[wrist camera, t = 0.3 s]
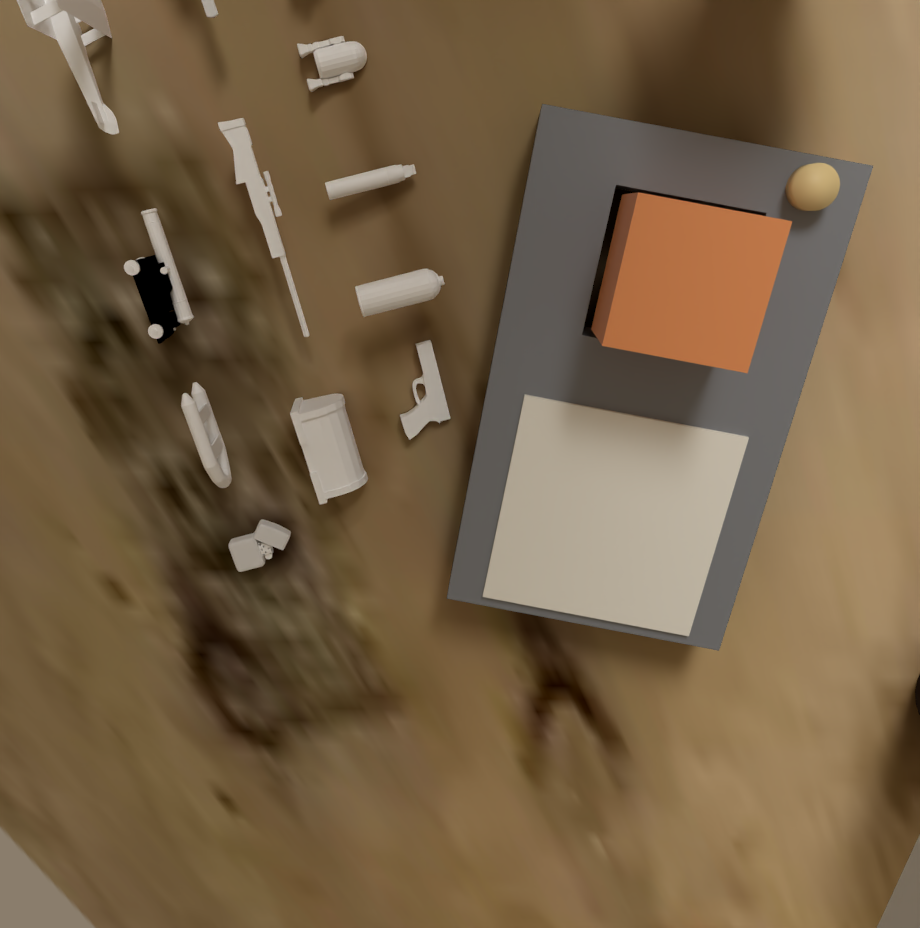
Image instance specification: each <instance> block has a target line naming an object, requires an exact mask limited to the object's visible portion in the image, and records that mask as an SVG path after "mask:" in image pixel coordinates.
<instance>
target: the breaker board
mask: <svg viewBox="0 0 920 928" xmlns="http://www.w3.org/2000/svg"><path fill="white" fill-rule="evenodd" d="M872 168H873V166H871V165H866V164H861V163H855V162H850V161H845V160H839V159H834V158H829V157H823V156H818V155H813V154H807V153H802V152H797V151H791V150H786V149H780V148H775V147H770V146H764V145H759V144H754V143H748V142H743V141H738V140H732V139H727V138H722V137H716V136H711V135H706V134H700V133H695V132H690V131H684V130H679V129H674V128H668V127H663V126H658V125H652V124H647V123H642V122H636V121H631V120H626V119H620V118H615V117H610V116H604V115H599V114H594V113H588V112H583V111H578V110H572V109H567V108H562V107H556V106H551V105H546V104H542V107H541V111H540V115H539V120H538V125H537V130H536V136H535V141H534V146H533V151H532V156H531V161H530V167H529V172H528V177H527V182H526V187H525V192H524V198H523V203H522V208H521V213H520V218H519V224H518V229H517V234H516V239H515V244H514V249H513V255H512V260H511V265H510V270H509V275H508V281H507V286H506V291H505V296H504V301H503V306H502V312H501V317H500V322H499V327H498V332H497V337H496V343H495V348H494V353H493V358H492V363H491V369H490V374H489V379H488V384H487V389H486V394H485V400H484V405H483V410H482V415H481V420H480V425H479V431H478V436H477V441H476V446H475V451H474V457H473V462H472V467H471V472H470V477H469V482H468V488H467V493H466V498H465V503H464V508H463V514H462V519H461V524H460V529H459V534H458V539H457V545H456V550H455V555H454V560H453V565H452V571H451V576H450V582H449V588H448V594H447V599H452V600H457V601H463V602H468V603H473V604H478V605H483V606H489V607H494V608H499V609H504V610H510V611H515V612H520V613H525V614H531V615H536V616H541V617H546V618H551V619H557V620H562V621H567V622H572V623H578V624H583V625H588V626H593V627H598V628H604V629H609V630H614V631H619V632H625V633H630V634H635V635H640V636H646V637H651V638H656V639H661V640H666V641H672V642H677V643H682V644H687V645H693V646H698V647H703V648H708V649H713V650H719V649H720V646H721V643H722V639H723V636H724V633H725V630H726V627H727V624H728V621H729V617H730V614H731V611H732V608H733V605H734V602H735V599H736V595H737V592H738V589H739V586H740V583H741V580H742V577H743V573H744V570H745V567H746V564H747V561H748V558H749V555H750V552H751V548H752V545H753V542H754V539H755V536H756V533H757V530H758V526H759V523H760V520H761V517H762V514H763V511H764V508H765V504H766V501H767V498H768V495H769V492H770V489H771V486H772V482H773V479H774V476H775V473H776V470H777V467H778V464H779V460H780V457H781V454H782V451H783V448H784V445H785V442H786V438H787V435H788V432H789V429H790V426H791V423H792V420H793V416H794V413H795V410H796V407H797V404H798V401H799V398H800V394H801V391H802V388H803V385H804V382H805V379H806V376H807V372H808V369H809V366H810V363H811V360H812V357H813V354H814V350H815V347H816V344H817V341H818V338H819V335H820V332H821V328H822V325H823V322H824V319H825V316H826V313H827V310H828V306H829V303H830V300H831V297H832V294H833V291H834V288H835V284H836V281H837V278H838V275H839V272H840V269H841V266H842V262H843V259H844V256H845V253H846V250H847V247H848V244H849V240H850V237H851V234H852V231H853V228H854V225H855V222H856V219H857V215H858V212H859V209H860V206H861V203H862V200H863V197H864V193H865V190H866V187H867V184H868V181H869V178H870V175H871V171H872ZM615 188H616V189H621V190H626V191H632V192H639V193H645V194H650V195H655V196H661V197H666V198H671V199H677V200H682V201H687V202H693V203H698V204H703V205H709V206H714V207H719V208H725V209H730V210H735V211H740V212H746V213H751V214H756V215H762V216H767V217H772V218H778V219H783V220H788V221H792V224H791V228H790V231H789V235H788V238H787V241H786V245H785V248H784V251H783V255H782V258H781V262H780V265H779V268H778V272H777V275H776V279H775V282H774V285H773V289H772V292H771V296H770V299H769V302H768V306H767V309H766V313H765V316H764V319H763V323H762V326H761V329H760V333H759V336H758V340H757V343H756V346H755V350H754V353H753V357H752V360H751V363H750V367H749V370H748V373H743V372H738V371H733V370H727V369H722V368H717V367H712V366H706V365H701V364H696V363H690V362H685V361H680V360H675V359H669V358H664V357H659V356H653V355H648V354H643V353H638V352H632V351H627V350H622V349H616V348H611V347H606V346H602V345H601V343H600V342H599V340H598V339H597V337H596V336H595V334H594V333H593V331H592V330H591V328H590V327H585V326H584V324H585V319H586V315H587V310H588V306H589V301H590V297H591V293H592V288H593V284H594V279H595V275H596V271H597V266H598V262H599V257H600V253H601V248H602V244H603V240H604V235H605V231H606V226H607V222H608V217H609V213H610V209H611V204H612V200H613V195H614V191H615Z"/></svg>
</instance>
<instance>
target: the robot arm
mask: <svg viewBox="0 0 920 928" xmlns="http://www.w3.org/2000/svg"><path fill="white" fill-rule="evenodd" d="M877 928H920V835H919V837H918V839H917V841H916V843H915V846H914V848H913V850H912V852H911V854H910V856H909V859H908V861H907V863H906V865H905V867H904V869H903V872H902V874H901V876H900V878H899V880H898V883H897V885H896V887H895V889H894V891H893V893H892V896H891V898H890V900H889V902H888V904H887V906H886V909H885V911H884V913H883V915H882V917H881V920H880V922H879V924H878V926H877Z"/></svg>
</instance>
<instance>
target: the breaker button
mask: <svg viewBox="0 0 920 928" xmlns="http://www.w3.org/2000/svg"><path fill="white" fill-rule="evenodd" d="M791 224H792V221H788V220H783V219H778V218H772V217H767V216H762V215H756V214H751V213H746V212H740V211H735V210H730V209H725V208H719V207H714V206H709V205H703V204H698V203H693V202H687V201H682V200H677V199H671V198H666V197H661V196H655V195H650V194H645V193H639V192H637V193H630V194H623V195H622V197H621V201H620V206H619V210H618V214H617V219H616V223H615V228H614V232H613V236H612V241H611V245H610V249H609V254H608V258H607V262H606V267H605V271H604V276H603V280H602V284H601V289H600V293H599V297H598V302H597V306H596V310H595V315H594V319H593V324H592V328H591V330H592V331H593V333H594V334H595V336H596V337H597V339H598V340H599V342H600V343H601V345H602V346H606V347H611V348H616V349H622V350H627V351H632V352H638V353H643V354H648V355H653V356H659V357H664V358H669V359H675V360H680V361H685V362H690V363H696V364H701V365H706V366H712V367H717V368H722V369H727V370H733V371H738V372H743V373H748V370H749V367H750V363H751V360H752V357H753V353H754V350H755V346H756V343H757V340H758V336H759V333H760V329H761V326H762V323H763V319H764V316H765V313H766V309H767V306H768V302H769V299H770V296H771V292H772V289H773V285H774V282H775V279H776V275H777V272H778V268H779V265H780V262H781V258H782V255H783V251H784V248H785V245H786V241H787V238H788V235H789V231H790V228H791Z"/></svg>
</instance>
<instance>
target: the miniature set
mask: <svg viewBox="0 0 920 928" xmlns="http://www.w3.org/2000/svg"><path fill="white" fill-rule="evenodd" d="M17 2H18V5H19V7H20V9H21V12H22V14H23V17H24V19H25V21H26V24H27V26H29V27H31V28H33V29H35V30H37V31H39V32H41V33H43V34H46V35H48V36H50V37H52V38H54V39H56V40H57V41H58V43H59V45H60V47H61V50H62V52H63V54H64V56H65V58H66V60H67V62H68V64H69V66H70V68H71V70H72V72H73V74H74V77H75V79H76V81H77V83H78V85H79V87H80V89H81V91H82V93H83V95H84V97H85V99H86V102H87V104H88V106H89V108H90V110H91V112H92V114H93V116H94V118H95V120H96V122H97V124H98V127H99V128H100V129H101V130H103V131H104V132H106V133H109V134H113V135H114V134H117V133H119V129H118V124H117V120H116V117H115V116H114V114H113V112H112V111H111V110H110V109H109V108H108V107H107V106H106V105H105V104H103V101H102V98H101V95H100V92H99V89H98V86H97V83H96V80H95V77H94V74H93V71H92V68H91V65H90V62H89V59H88V56H87V51H86V47H85V46H86V45H88V44H90V43H92V42H94V41H96V40H97V39H99V38H101V37H103V36H105V35H107V36H109V37H110V38H112V36H111V31H110V27H109V23H108V19H107V15H106V12H105V9H104V6H103V4H102V1H101V0H17ZM202 3H203V6H204V9H205V12H206V15H207V17H208V18H215V17H216V16H218V15H219V14H218V11H217V8H216V5H215V2H214V0H202ZM81 21H83V22H85V23H86V24H88V25H90V26H91V27H93V28H94V29H92V30H90V31H88V32H86V33H84V34H83V35H82V32H81V28H80V25H79V22H81ZM327 46H328V47H327ZM297 47H298V51H299V55H300V57H301V58H304V57H305V56H306V55H308V54H309V53H313V54H314V58H315V61H316V65H317V69H318V72H319V76H320V79H307V84H308V87H309V90H310V92H313V91H315V90H316V89H317V88H319V87H323V85H324V86H329V85H330V84H333V83H337V82H343V81H347V80H350V79H354V75H353V73H352V72H356V71H358V70H360V69H362V68H363V67H364V65H365V64H366V61H367V53H366V50H365V48H364V47H363V46H362V45H361V44H360V43H358V42H356V41H350V42H349V41H348V42H345V40H344V36H339V37H335V38H331V39H329V40H325V41H321V42H314V43H313V44H307V45H305V44H299V43H298V44H297ZM323 47H324V48H323ZM319 48H320V49H319ZM336 76H337V77H336ZM332 77H333V78H332ZM328 78H329V79H328ZM321 79H322V80H321ZM218 125H219V128H220V131H222V133H223V134H224V136H225V137H226V139H227V140H228V142H229V144H230V145H231V147H232V148H233V153H234V164H235V175H236V184H241V183H246V186H247V189H248V192H249V195H250V199H251V202H252V205H253V208H254V211H255V214H256V216H257V218H258V219H259V221H260V223H261V224H262V227H263V230H264V233H265V237H266V240H267V243H268V246H269V249H270V253H271V256H272V258H276V257H280V260H281V263H282V266H283V270H284V273H285V276H286V279H287V283H288V286H289V289H290V292H291V296H292V299H293V302H294V305H295V309H296V312H297V315H298V318H299V322H300V325H301V328H302V331H303V334H304V337H308V336H310V334H309V331H308V328H307V325H306V321H305V318H304V315H303V311H302V308H301V305H300V302H299V298H298V295H297V292H296V288H295V285H294V282H293V279H292V275H291V272H290V269H289V266H288V262H287V259H286V256H285V255H286V253H285V250H284V246H283V243H282V240H281V236H280V233H279V230H278V227H277V223H276V220H275V217H274V213H273V210H272V207H271V204H270V202H273V205H274V212H275V215H276V217H278V216H282V212H281V209H280V208H279V206H278V203H277V199H276V195H275V193H274V189H273V185H272V183H271V178H270V175H269V171H265V172H263V174H264V177H265V180H266V182H267V185H268V186H267V187H265V184H264V181H263V178H261V175H260V172H259V169H258V166H257V162H256V159H255V156H254V152H253V149H252V146H251V145H253V144H252V141H251V137H250V134H249V131H248V129H247V128H246V123H245V120H244V118H239V119H235V120H231V121H225V122H218ZM414 174H416V170H415V166H414V164H413V165H409V166H408V165H405V166H402V164H400V165H392V166H388V167H384V168H380V169H376V170H372V171H368V172H364V173H360V174H356V175H352V176H348V177H344V178H340V179H336V180H333V181H329V182H325V185H326V189H327V193H328V196H329V199H330V200H333V199H337V198H341V197H345V196H349V195H353V194H357V193H361V192H365V191H369V190H373V189H377V188H380V187H384V186H388V185H392V184H396V183H400V181H404V180H405V178H407V177H411V175H414ZM267 192H270V195H271V196H270V197H268V194H267ZM141 215H142V216H143V219H144V222H145V225H146V228H147V231H148V234H149V237H150V240H151V243H152V246H153V248H154V251H155V254H156V255H153V256H149V257H139V258H137V259H136V260H135V261H134V260H129V261H127V262H126V263H125V264H124V270H125V272H126V273H127V274H129V275H133V277H134V280H135V282H136V285H137V288H138V291H139V293H140V296H141V299H142V301H143V304H144V307H145V309H146V312H147V315H148V317H149V320H150V323H151V326H150V327H149V328H148V334H149V335H150V337H152V338H154V339H157V342H158V344H159V343H162V342H163V341H164V340H165V339H167V338H169V337H170V336H171V335H172V334H173V333H174V331H175V330H176V328H175V327H177V326H179V325H180V323H185V325H189V324H190V323H189V321H191V320H192V319H193V318H194V316H193V315H192V312H191V309H190V306H189V303H188V300H187V297H186V294H185V291H184V289H183V286H182V283H181V280H180V277H179V274H178V271H177V268H176V265H175V262H174V259H173V257H172V254H171V251H170V248H169V245H168V242H167V239H166V236H165V233H164V230H163V227H162V225H161V222H160V219H159V216H158V213H157V209H156V208H154V209H150V210H146V211H142V212H141ZM441 285H445V283H444V280H443V276H439V277H438V274H436V273H435V272H434V271H432V270H428V269H421V270H417V271H413V272H409V273H405V274H401V275H397V276H393V277H389V278H385V279H382V280H378V281H374V282H370V283H366V284H362V285H359V286H355V289H356V293H357V297H358V301H359V305H360V308H361V312H362V315H363V317H365V316H370V315H374V314H378V313H382V312H386V311H390V310H393V309H397V308H401V307H405V306H409V305H413V304H417V303H421V302H424V301H428V300H432V299H434V298H435V296H437V295H438V293H439V291H440V289H441ZM171 310H175V311H172V312H169V311H171ZM416 347H417V351H418V355H419V359H420V363H421V366H422V370H423V375H422V377H420V378H417V379H415V380H414V381H413V386H412V387H413V393H414V397H415V400H416V402H417V403H418V404H417V405H416V406H415V407H414V408H413V409H411V410H410V411H408V412H407V413H404V414H400V418H401V421H402V424H403V428H404V431H405V434H406V435H407V437H408V438H409V440H410V439H412V438H413V437H414V436H416V435H417V434H418V433H419V432H420V431H421V429H422V428H423V427H424V426H425V425H426V424H427V423H428V422H429V421H437V422H439V424H440V421H444V420H448V419H451V418H450V414H449V410H448V406H447V403H446V399H445V395H444V391H443V387H442V383H441V379H440V375H439V371H438V367H437V363H436V359H435V355H434V351H433V347H432V343H431V340H427V341H424V342H420V343H417V344H416ZM418 383H420V384H423V385H424V386H425V391H426V395H425V396H424V397H423V398H422V400H419V398H418V395H417V391H416V385H417V384H418ZM191 394H192V397H193V399H192V398H191V397H190V396H189V395H188V394H187V393H184V394H182V402H181V407H182V410H183V413H184V415H185V418H186V421H187V424H188V426H189V429H190V432H191V434H192V437H193V440H194V442H195V445H196V448H197V450H198V453H199V456H200V458H201V461H202V464H203V466H204V468H205V470H206V472H207V473H208V475H209V477H210V478H211V480H212V481H213V483H215V484H216V485H217V486H218V487H220V488H226V487H228V486H229V485H230V483H231V480H232V477H231V470H230V465H229V461H228V456H227V451H226V447H225V444H224V442H223V439H222V436H221V433H220V430H219V428H218V425H217V422H216V419H215V417H214V414H213V411H212V408H211V405H210V403H209V400H208V397H207V394H206V392H205V389H203V388H202V387H201V386H200V385H199V384H198V383H197V382H194V383H193V385H192V393H191ZM344 404H345V399H344V396H343V395H342V394H337V393H336V394H329V395H325V396H320V397H316V398H311V399H307V400H303V397H300V398H296V399H295V401H294V403H293V406H292V409H291V412H290V415H291V418H292V421H293V424H294V427H295V430H296V433H297V436H298V440H299V443H300V445H301V447H302V450H303V453H304V456H305V459H306V462H307V465H308V468H309V471H310V477H311V480H312V483H313V486H314V489H315V492H316V495H317V498H318V501H319V504H324V503H327V500H328V498H332V497H336V496H340V495H343V494H346V493H349V492H352V491H354V490H356V489H358V488H360V487H361V486H363V485H364V484H365V483H366V482H367V480H368V476H367V473H366V471H365V470H364V469H363V465H362V462H361V459H360V455H359V452H358V449H357V445H356V442H355V439H354V435H353V432H352V429H351V425H350V422H349V419H348V415H347V412H346V409H345V405H344ZM290 535H291V531H289V530H288V529H286V528H284V527H282V526H280V525H278V524H276V523H273V522H270V521H267V520H263V519H262V520H260V522H259V524H258V526H257V528H256V530H255V532H254V533H252V534H248V535H244V536H240V537H237V538H233V539H231V540H230V542H229V550H230V552H231V555H232V558H233V560H234V563H235V566H236V568H237V570H238V571H239V572H243V571H247V570H251V569H254V568H258V567H262V566H263V565H264V564H265V561H266V559H271V558H272V553H273V547H275V548H278V549H280V550H284V548H285V546H286V544H287V542H288V540H289V538H290ZM263 546H264V547H263ZM272 546H273V547H272ZM271 549H272V550H271ZM265 551H266V553H265ZM265 558H266V559H265Z"/></svg>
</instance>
